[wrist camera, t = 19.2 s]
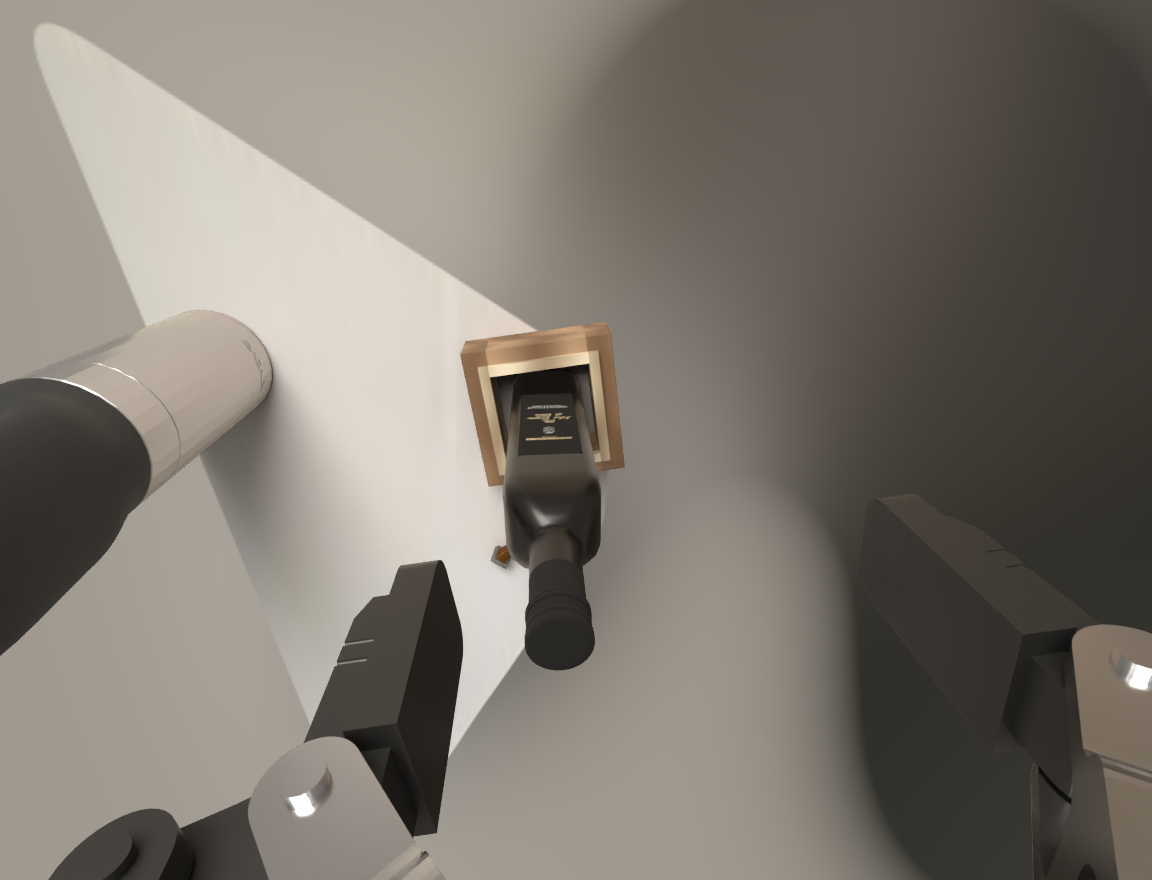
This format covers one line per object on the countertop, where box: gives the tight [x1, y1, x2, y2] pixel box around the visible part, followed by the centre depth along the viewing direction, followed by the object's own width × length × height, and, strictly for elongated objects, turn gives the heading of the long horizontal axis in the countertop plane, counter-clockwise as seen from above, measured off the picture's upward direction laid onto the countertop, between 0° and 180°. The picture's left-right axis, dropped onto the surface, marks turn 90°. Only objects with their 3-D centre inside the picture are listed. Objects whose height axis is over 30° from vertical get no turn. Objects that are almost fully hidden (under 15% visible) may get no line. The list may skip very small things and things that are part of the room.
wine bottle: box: [503, 371, 601, 670], centre depth 39 cm, size 6×6×30 cm
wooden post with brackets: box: [491, 545, 511, 569], centre depth 56 cm, size 2×8×4 cm, turn 145°
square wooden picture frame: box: [460, 322, 624, 486], centre depth 50 cm, size 12×12×5 cm
